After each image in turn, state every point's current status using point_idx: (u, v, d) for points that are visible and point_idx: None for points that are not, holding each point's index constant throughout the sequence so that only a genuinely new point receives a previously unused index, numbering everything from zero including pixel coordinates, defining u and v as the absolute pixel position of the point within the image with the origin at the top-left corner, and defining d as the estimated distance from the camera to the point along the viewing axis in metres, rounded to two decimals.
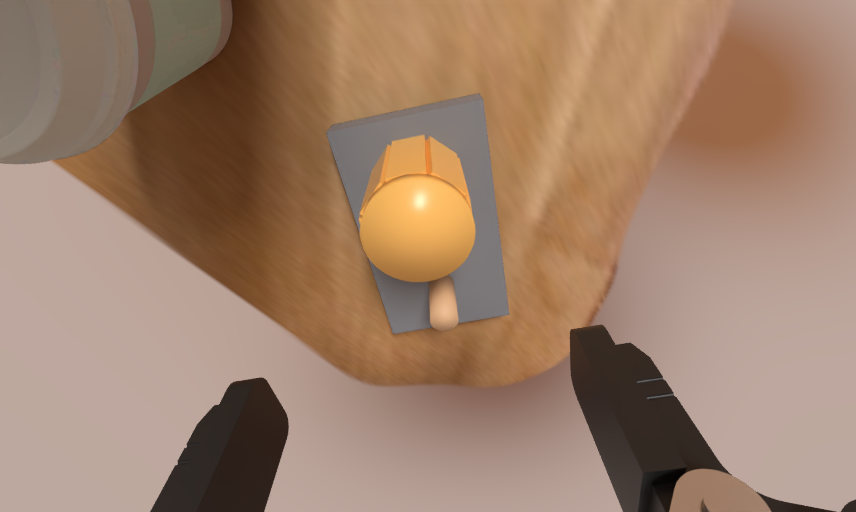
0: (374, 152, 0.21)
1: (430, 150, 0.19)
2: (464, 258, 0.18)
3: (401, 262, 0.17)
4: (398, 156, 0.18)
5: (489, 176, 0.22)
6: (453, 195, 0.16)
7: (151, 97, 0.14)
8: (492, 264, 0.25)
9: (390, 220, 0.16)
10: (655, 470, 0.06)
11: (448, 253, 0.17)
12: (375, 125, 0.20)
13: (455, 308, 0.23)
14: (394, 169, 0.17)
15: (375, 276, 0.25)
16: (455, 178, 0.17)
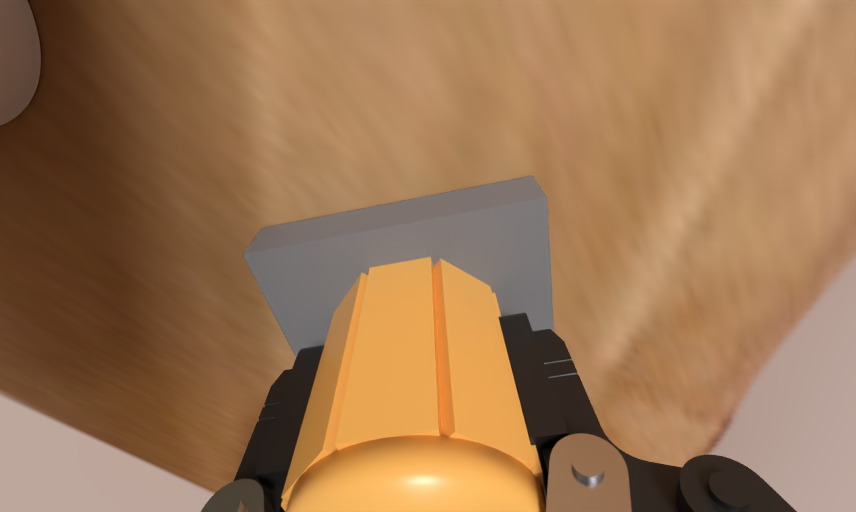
0: (336, 285, 0.11)
1: (444, 315, 0.09)
2: None
3: None
4: (376, 333, 0.09)
5: (547, 320, 0.12)
6: (510, 507, 0.06)
7: None
8: None
9: None
10: (541, 435, 0.07)
11: None
12: (336, 242, 0.10)
13: None
14: (362, 397, 0.07)
15: None
16: (504, 407, 0.08)
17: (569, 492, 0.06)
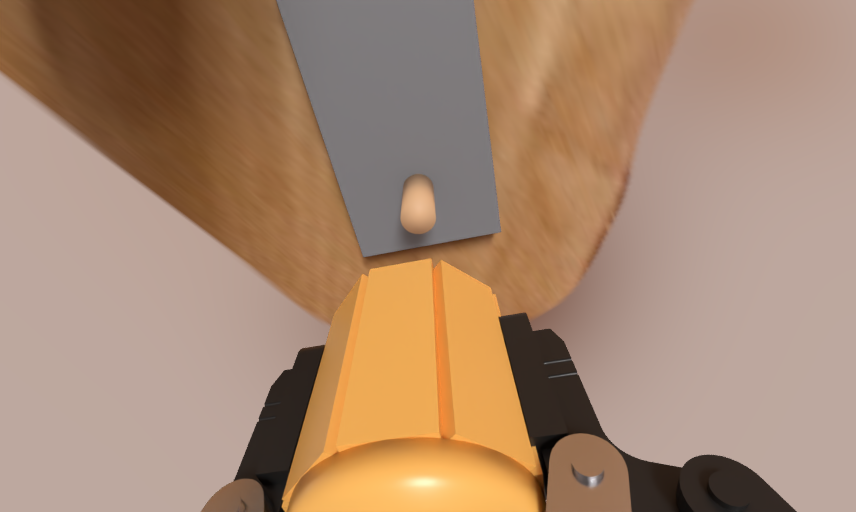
0: None
1: (445, 317, 0.09)
2: None
3: None
4: (377, 335, 0.09)
5: (473, 33, 0.17)
6: (511, 509, 0.06)
7: None
8: (479, 161, 0.20)
9: None
10: (541, 435, 0.07)
11: None
12: None
13: (432, 204, 0.18)
14: (363, 399, 0.07)
15: (338, 177, 0.21)
16: (504, 408, 0.08)
17: (569, 492, 0.06)
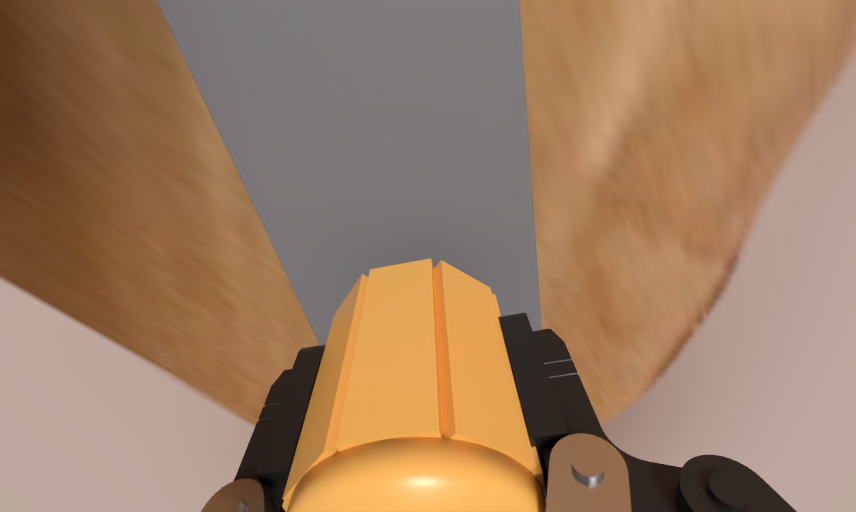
0: None
1: (445, 317, 0.09)
2: None
3: None
4: (377, 335, 0.09)
5: (516, 53, 0.10)
6: (511, 508, 0.06)
7: None
8: (515, 254, 0.13)
9: None
10: (541, 435, 0.07)
11: None
12: None
13: None
14: (363, 399, 0.07)
15: (290, 277, 0.13)
16: (504, 408, 0.08)
17: (569, 492, 0.06)
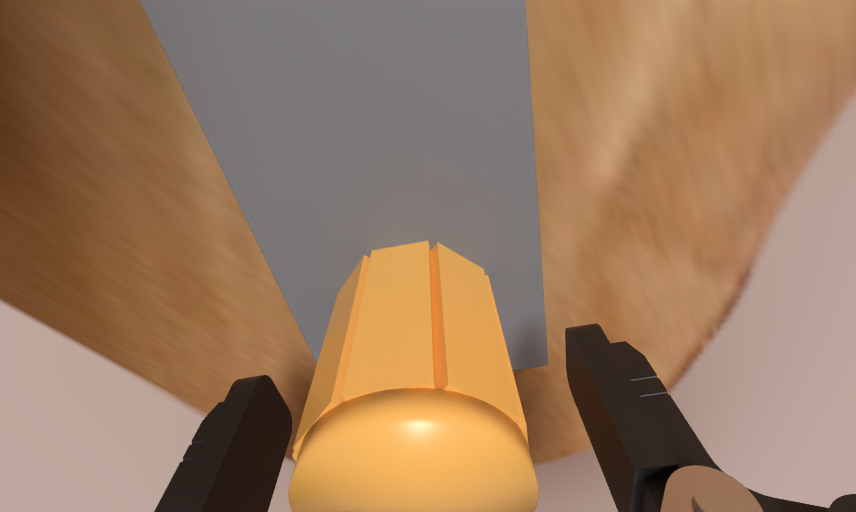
0: None
1: (440, 290, 0.10)
2: None
3: None
4: (378, 306, 0.09)
5: (522, 64, 0.09)
6: (496, 448, 0.07)
7: None
8: (520, 270, 0.12)
9: (354, 486, 0.07)
10: (647, 467, 0.06)
11: None
12: None
13: None
14: (366, 358, 0.08)
15: (285, 294, 0.13)
16: (493, 369, 0.08)
17: None
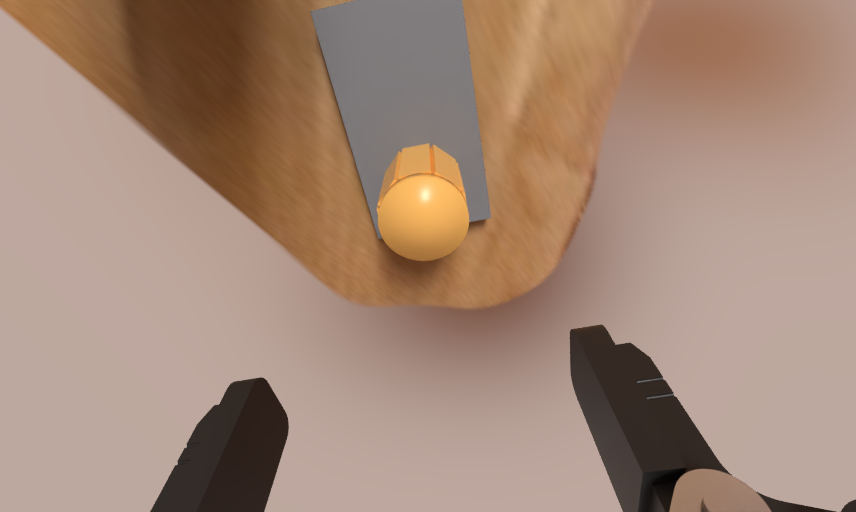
0: (356, 33, 0.22)
1: (434, 155, 0.23)
2: (461, 242, 0.22)
3: (410, 244, 0.22)
4: (408, 160, 0.23)
5: (467, 61, 0.23)
6: (452, 190, 0.20)
7: None
8: (473, 160, 0.26)
9: (402, 209, 0.21)
10: (655, 470, 0.06)
11: (447, 237, 0.22)
12: (357, 4, 0.21)
13: None
14: (405, 170, 0.21)
15: (359, 172, 0.26)
16: (453, 177, 0.22)
17: None
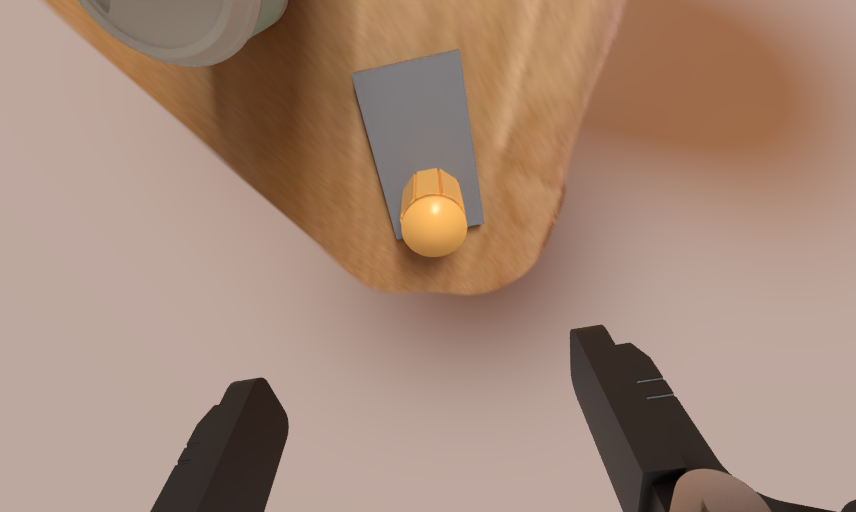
0: (384, 90, 0.30)
1: (441, 179, 0.31)
2: (461, 243, 0.30)
3: (424, 245, 0.30)
4: (422, 182, 0.31)
5: (465, 109, 0.31)
6: (454, 206, 0.28)
7: (249, 37, 0.23)
8: (470, 180, 0.34)
9: (419, 220, 0.29)
10: (655, 470, 0.06)
11: (451, 239, 0.30)
12: (385, 70, 0.29)
13: None
14: (421, 191, 0.29)
15: (383, 189, 0.34)
16: (456, 196, 0.30)
17: None
